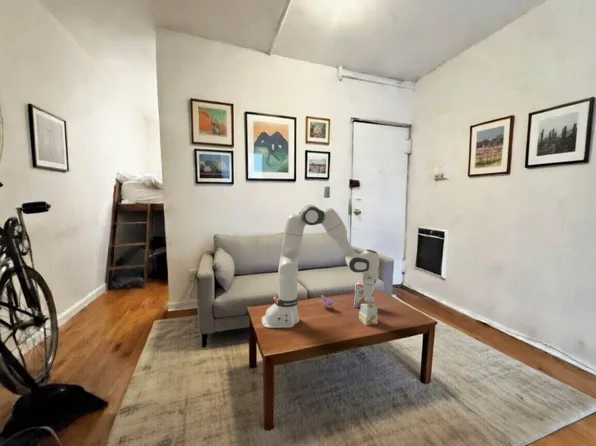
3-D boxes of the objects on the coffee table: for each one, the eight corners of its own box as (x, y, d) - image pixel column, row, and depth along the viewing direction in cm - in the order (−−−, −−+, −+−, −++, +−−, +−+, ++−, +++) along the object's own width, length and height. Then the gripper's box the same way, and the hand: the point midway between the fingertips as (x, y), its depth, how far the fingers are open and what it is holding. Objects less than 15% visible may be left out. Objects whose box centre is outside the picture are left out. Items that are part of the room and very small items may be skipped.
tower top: (367, 316, 157) (367, 308, 157) (360, 311, 164) (360, 304, 163) (377, 315, 160) (377, 307, 159) (370, 310, 166) (370, 302, 166)
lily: (339, 313, 175) (340, 298, 178) (326, 310, 168) (327, 294, 172) (325, 312, 184) (327, 298, 187) (313, 309, 177) (314, 295, 181)
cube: (372, 305, 158) (373, 297, 157) (364, 303, 160) (364, 295, 159) (374, 302, 162) (374, 294, 162) (365, 300, 164) (366, 292, 164)
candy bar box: (354, 308, 181) (355, 284, 179) (354, 304, 186) (355, 281, 184) (371, 309, 180) (373, 285, 178) (370, 305, 185) (371, 282, 183)
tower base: (365, 325, 158) (366, 317, 157) (358, 319, 165) (359, 311, 165) (377, 323, 160) (377, 315, 159) (370, 317, 167) (370, 309, 167)
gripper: (367, 271, 170) (366, 292, 172) (362, 281, 151) (360, 304, 153) (378, 273, 168) (376, 294, 169) (373, 283, 149) (372, 306, 151)
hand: (369, 299), depth 161 cm, fingers closed on cube, 5 cm apart
